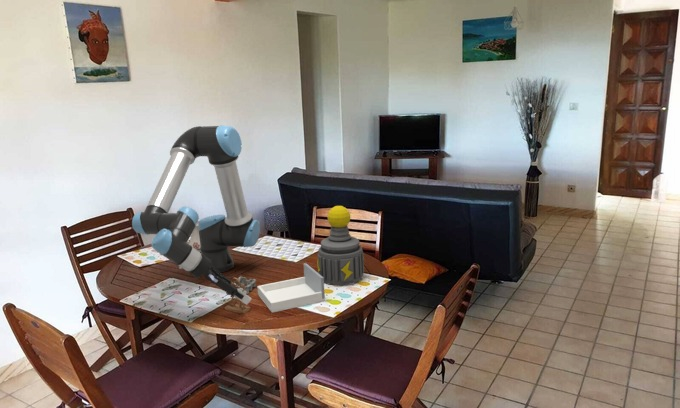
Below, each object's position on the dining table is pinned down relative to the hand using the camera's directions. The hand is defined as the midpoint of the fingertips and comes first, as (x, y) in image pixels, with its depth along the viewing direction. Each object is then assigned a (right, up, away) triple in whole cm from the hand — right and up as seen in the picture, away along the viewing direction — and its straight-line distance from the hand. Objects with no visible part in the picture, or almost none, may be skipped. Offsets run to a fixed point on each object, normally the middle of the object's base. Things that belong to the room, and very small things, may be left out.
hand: (246, 298), depth 178 cm
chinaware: (-38, +11, +71) cm, 82 cm away
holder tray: (+15, -1, +7) cm, 17 cm away
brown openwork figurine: (-3, -4, -1) cm, 5 cm away
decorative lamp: (+34, +3, +25) cm, 43 cm away
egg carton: (-4, 0, +17) cm, 18 cm away
